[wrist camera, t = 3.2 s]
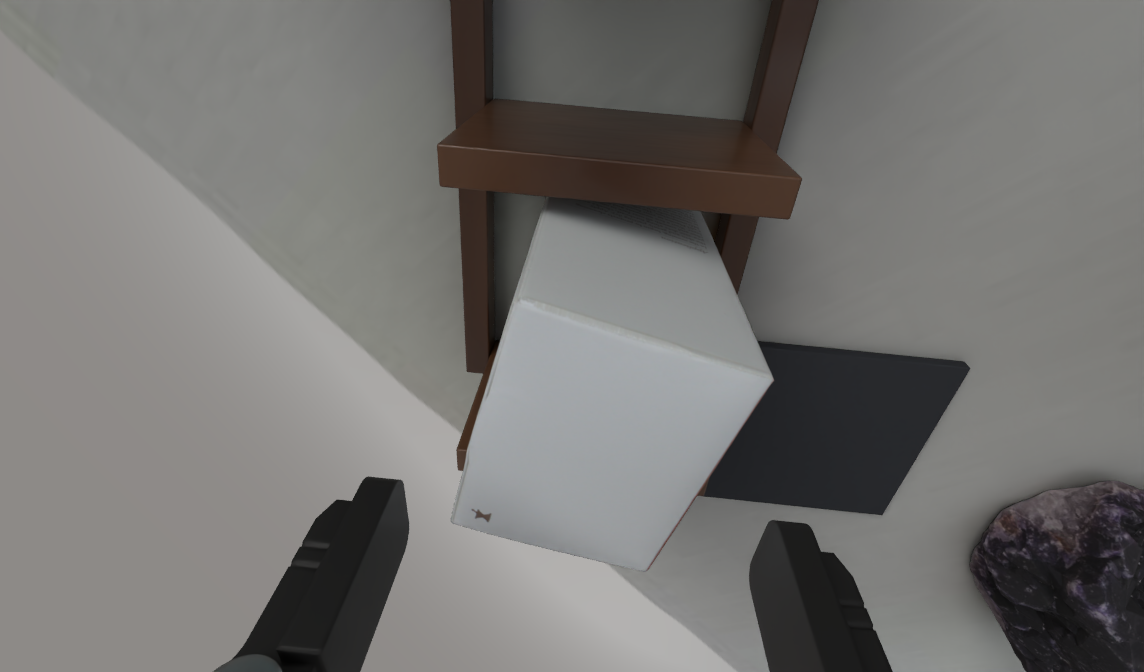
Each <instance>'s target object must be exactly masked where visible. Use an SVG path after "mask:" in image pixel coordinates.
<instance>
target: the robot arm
mask: <svg viewBox="0 0 1144 672" xmlns="http://www.w3.org/2000/svg"><path fill="white" fill-rule="evenodd" d="M408 534H409V519H408V513H407V505H406V498H405V491H404V484H403V482H402V481H401V480H396V479H386V478H375V477H366V478H365V479H364V480H363V481H362V483H361V485H360V486H359V489H358V490H357V493H356V494H355V496H354V498H353V500H352V501H345V500H336V501H335V502H334V503H333V504H331V505H330V506H329V507H328V508H327V509H326V510H325V511H324V512H323V513H322V514H321V515H319V516H318V517H317V518H316V519H315V521H314V523H313V525H312V526H311V528H310V530H309V532H308V534H307V535H306V537H305V539H304V540H303V544H302V547H300V548H299V549H298V551H297V553H296V555H295V557H294V558H293V560H292V564H291V566H290V567H288V569H287V571H286V572H285V574H284V576H283V578H282V579H281V581H280V583H279V585H278V586H277V588H276V590H275V592H274V594H273V595H272V597H271V599H270V601H269V602H268V604H267V606H266V608H265V610H264V611H263V613H262V615H261V616H260V618H259V620H258V622H257V624H256V625H255V627H254V629H253V631H252V632H251V634H250V636H249V638H248V639H247V641H246V643H245V644H244V646H243V647H242V648H241V650H240V651H239V652H238V654H237V655H236V656H235V657H234V658H233V659H232V660H230V661H229V662H227V663H225V664H223V665H222V666H220V667H219V668H217V669H216V670H214V671H213V672H360V671H361V668H362V665H363V663H364V660H365V657H366V654H367V652H368V649H369V646H370V644H371V641H372V638H373V636H374V633H375V630H376V627H377V625H378V622H379V619H380V617H381V614H382V611H383V609H384V606H385V603H386V601H387V598H388V595H389V593H390V590H391V587H392V584H393V582H394V579H395V576H396V574H397V571H398V568H399V566H400V563H401V560H402V558H403V555H404V552H405V549H406V545H407V540H408ZM749 582H750V590H751V594H752V599H753V603H754V607H755V611H756V616H757V620H758V624H759V628H760V633H761V637H762V641H763V645H764V650H765V654H766V658H767V662H768V666H769V671H770V672H893V671H892V669H891V667H890V664H889V662H888V659H887V657H886V655H885V652H884V650H883V647H882V645H881V643H880V640H879V638H878V636H877V633H876V631H874V630H873V624H872V621H871V619H870V616H869V614H868V612H867V609H866V608H864V602H863V600H862V597H861V595H860V592H859V590H858V588H857V585H856V583H855V581H854V578H853V576H852V575H851V574H850V573H849V571H848V570H847V569H846V568H845V566H844V565H843V564H842V563H841V562H840V560H839V559H838V558H837V557H836V555H835V554H834V553H828V552H821V551H820V548H819V546H818V543H817V540H816V538H815V535H814V533H813V531H812V529H811V527H810V526H809V525H807V524H804V523H794V522H785V521H775V520H771V521H770V522H769V523H768V524H767V526H766V529H765V531H764V533H763V535H762V538H761V540H760V542H759V545H758V547H757V549H756V551H755V554H754V556H753V558H752V561H751V564H750V571H749Z"/></svg>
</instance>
